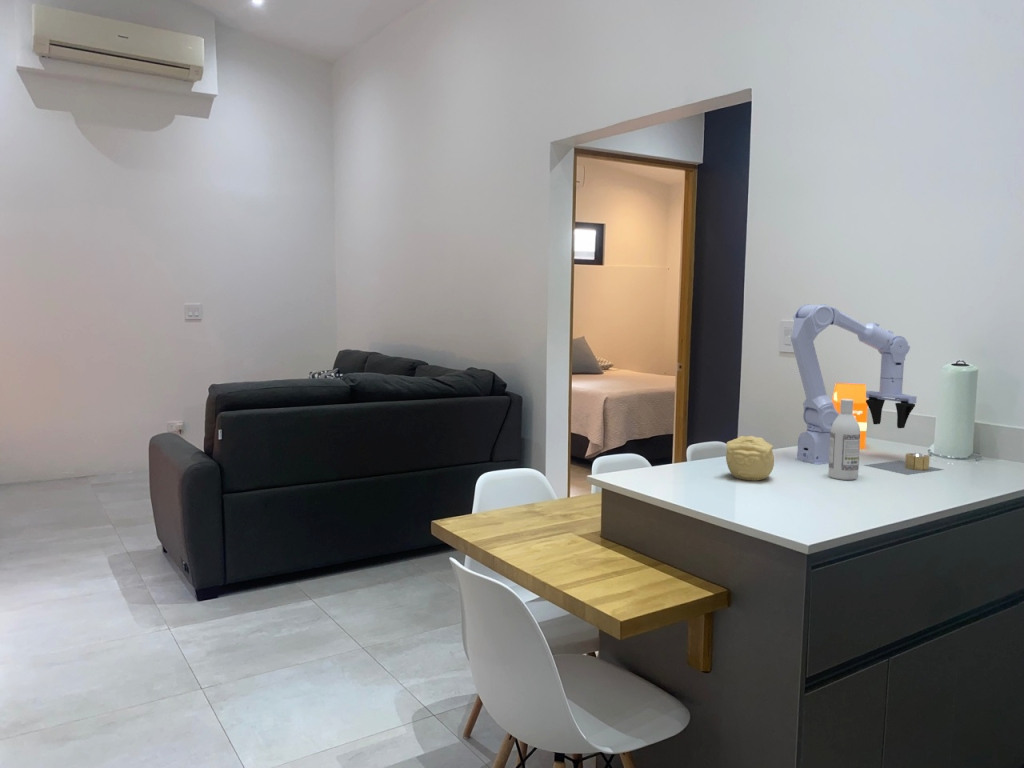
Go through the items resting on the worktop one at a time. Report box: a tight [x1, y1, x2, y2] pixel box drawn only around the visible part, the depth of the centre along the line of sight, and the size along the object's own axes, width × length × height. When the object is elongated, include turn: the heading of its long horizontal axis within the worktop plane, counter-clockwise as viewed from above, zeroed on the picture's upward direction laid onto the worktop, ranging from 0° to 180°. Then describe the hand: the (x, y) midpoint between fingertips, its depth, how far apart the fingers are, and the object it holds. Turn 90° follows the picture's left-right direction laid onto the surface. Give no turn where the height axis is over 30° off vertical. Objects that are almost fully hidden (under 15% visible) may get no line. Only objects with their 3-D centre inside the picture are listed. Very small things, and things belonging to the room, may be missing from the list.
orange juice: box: [831, 382, 869, 450], centre depth 232 cm, size 8×9×20 cm
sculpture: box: [725, 435, 775, 481], centre depth 189 cm, size 11×12×11 cm
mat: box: [863, 460, 945, 476], centre depth 202 cm, size 15×13×1 cm
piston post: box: [912, 452, 923, 457], centre depth 200 cm, size 2×2×4 cm
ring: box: [904, 452, 930, 471], centre depth 200 cm, size 5×5×4 cm
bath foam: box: [828, 399, 861, 481], centre depth 190 cm, size 7×7×20 cm
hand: (888, 426), depth 212 cm, fingers open, 7 cm apart
